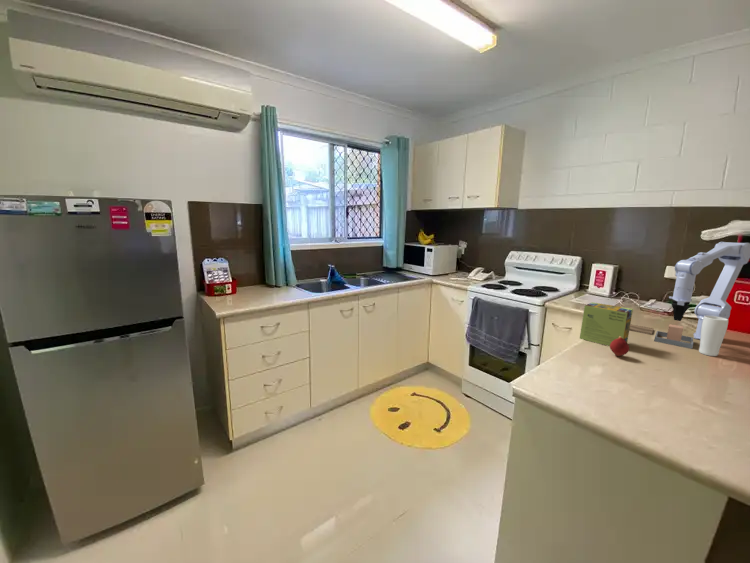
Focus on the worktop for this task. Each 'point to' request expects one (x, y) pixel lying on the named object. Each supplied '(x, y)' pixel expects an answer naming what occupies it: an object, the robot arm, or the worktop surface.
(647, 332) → the board
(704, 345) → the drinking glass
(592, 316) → the protein box
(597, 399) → the worktop surface
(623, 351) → the pomegranate
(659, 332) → the square frame
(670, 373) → the worktop surface
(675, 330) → the block
